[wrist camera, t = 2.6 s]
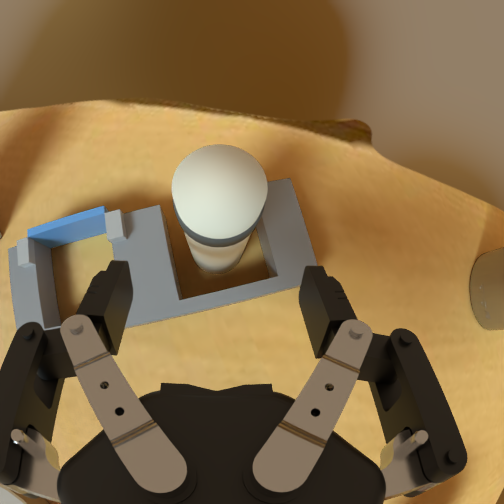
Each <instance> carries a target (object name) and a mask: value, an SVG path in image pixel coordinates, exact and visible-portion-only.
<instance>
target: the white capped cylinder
mask: <svg viewBox="0 0 504 504" xmlns="http://www.w3.org/2000/svg"><path fill="white" fill-rule="evenodd" d="M267 190H268V185H267V179H266V175H265V173H264V170H263V168H262V167H261V165H260V164H259V162H258V161H257V160H256V159H255V158H254V157H253V156H252V155H250V154H249V153H247V152H246V151H244V150H242V149H240V148H237V147H234V146H230V145H209V146H205V147H202V148H200V149H197V150H196V151H194V152H192V153H191V154H189V155H188V156H187V157H186V158H184V160H183V161H182V162H181V163H180V164H179V166H178V167H177V169H176V171H175V173H174V176H173V180H172V196H173V206H174V210H175V213H176V216H177V219H178V221H179V224H180V226H181V227H182V229H183V230H184V233H185V236H186V239H187V242H188V245H189V248H190V250H191V253H192V256H193V259H194V261H195V263H196V264H197V265H198V266H199V267H200V268H201V269H202V270H204V271H206V272H208V273H212V274H222V273H226V272H228V271H230V270H231V269H233V268H234V267H235V266H236V265H237V263H238V262H239V260H240V258H241V256H242V253H243V251H244V249H245V247H246V244H247V242H248V240H249V237H250V235H251V233H252V232H253V231H254V229H255V228H256V226H257V224H258V222H259V220H260V218H261V216H262V213H263V210H264V206H265V200H266V197H267Z"/></svg>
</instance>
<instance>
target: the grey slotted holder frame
mask: <svg viewBox="0 0 504 504" xmlns="http://www.w3.org/2000/svg"><path fill="white" fill-rule="evenodd" d="M267 185H268V190H267V197H266V200H265V206H264V210H263V213H262V216H261V218H260V220H259V222H258V224H257V226H256V229H257V233H258V237H259V240H260V244H261V247H262V251H263V255H264V258H265V262H266V266H267V269H268V273H269V277H270V278H269V279H265V280H261V281H257V282H253V283H249V284H245V285H241V286H237V287H233V288H229V289H225V290H221V291H217V292H213V293H208V294H204V295H200V296H196V297H192V298H187V299H183V298H182V293H181V289H180V285H179V280H178V276H177V271H176V267H175V262H174V258H173V253H172V248H171V243H170V238H169V233H168V228H167V222H166V217H165V215H164V213H163V211H162V209H161V207H160V205H156V206H152V207H148V208H144V209H140V210H136V211H132V212H128V213H125V214H123V212H122V211H121V210H120V209H118V210H115V211H111V212H109V211H108V210H107V209H106V208H105V206H101V207H97V208H94V209H90V210H87V211H83V212H80V213H77V214H74V215H70V216H67V217H64V218H61V219H58V220H55V221H52V222H48V223H45V224H42V225H40V226H37V227H34V228H31V229H28V230H27V231H28V237H26V238H23V239H20V240H17V246H15V247H12V248H9V249H8V254H9V271H10V283H11V293H12V301H13V309H14V315H15V322H16V328H17V330H18V329H19V328H20V327H21V326H22V325H23V324H25V323H28V322H37V323H39V324H40V325H41V326H42V328H43V330H50V329H56V328H61V320H60V315H59V309H58V303H57V297H56V290H55V283H54V275H53V266H52V256H51V248H54V247H58V246H61V245H65V244H68V243H72V242H75V241H79V240H82V239H86V238H89V237H93V236H96V235H100V234H104V233H107V239H108V241H110V242H111V243H112V247H113V253H114V260H120V261H128V263H129V268H130V274H131V279H132V285H133V301H132V304H131V308H130V311H129V314H128V318H127V321H126V325H125V328H130V327H135V326H140V325H145V324H149V323H154V322H158V321H163V320H167V319H172V318H176V317H181V316H185V315H189V314H194V313H198V312H202V311H206V310H211V309H215V308H219V307H223V306H227V305H231V304H235V303H239V302H243V301H247V300H251V299H255V298H258V297H262V296H266V295H270V294H274V293H277V292H281V291H285V290H288V289H292V288H296V287H299V286H301V282H302V278H303V273H304V269H305V267H306V266H318V265H317V262H316V258H315V255H314V252H313V248H312V245H311V242H310V238H309V235H308V232H307V228H306V225H305V222H304V219H303V216H302V212H301V209H300V206H299V203H298V200H297V197H296V194H295V191H294V188H293V185H292V182H291V179H290V178H288V179H282V180H276V181H270V182H267ZM125 328H124V329H125Z"/></svg>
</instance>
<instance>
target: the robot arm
mask: <svg viewBox="0 0 504 504" xmlns="http://www.w3.org/2000/svg"><path fill="white" fill-rule="evenodd" d="M470 297H471V304H472V308H473V312H474V314H475V317H476V319H477V320H478V322H479V324H480V325H481V326H482V327H483V328H485V329H487V330H504V247H503V248H500V249H497V250H494V251H491V252H487V253H485V254H482V255H481V256H480V257H479V258H478V259H477V261H476V262H475V264H474V267H473V270H472V274H471V281H470ZM132 301H133V285H132V279H131V274H130V268H129V263H128V261H120V260H112V261H111V262H110V264H109V266H108V268H107V270H106V271H100V272H99V273H98V274H97V275H96V276H95V277H93V279H92V281H91V283H90V287H88V290H87V293H86V294H85V296H84V298H83V300H82V302H81V304H80V307H79V309H78V311H77V313H76V315H73V316H71V317H69V318H67V319H66V320H65V321H64V322H63V323H62V325H61V328H56V329H50V330H43V328H42V326H41V325H40V324H39V323H37V322H28V323H25V324H23V325H22V326H21V327H20V328H19V329H18V330H17V332H16V334H15V336H14V338H13V341H12V343H11V345H10V347H9V350H8V352H7V355H6V357H5V359H4V362H3V364H2V367H1V370H0V484H2V485H3V486H5V487H7V488H9V489H11V490H13V491H15V492H16V493H19V494H22V495H24V496H26V497H28V498H31V499H37V498H39V497H42V498H46V499H49V500H52V501H56V502H59V503H61V504H383V502H384V500H387V499H391V498H394V497H398V496H401V495H404V496H406V497H415V496H417V495H419V494H421V493H423V492H425V491H427V490H429V489H431V488H433V487H435V486H437V485H439V484H440V483H442V482H444V481H446V480H448V479H449V478H451V477H453V476H455V475H456V474H458V473H459V472H461V471H462V470H463V469H464V467H465V465H466V463H467V452H466V449H465V446H464V443H463V441H462V438H461V435H460V433H459V430H458V427H457V425H456V422H455V420H454V417H453V415H452V412H451V410H450V407H449V405H448V402H447V400H446V398H445V395H444V393H443V391H442V388H441V386H440V384H439V382H438V379H437V377H436V375H435V373H434V371H433V369H432V366H431V364H430V362H429V360H428V358H427V356H426V354H425V352H424V350H423V348H422V346H421V344H420V342H419V340H418V338H417V336H416V335H415V334H414V333H412V332H411V331H409V330H407V329H402V328H399V329H395V330H394V331H393V332H392V333H391V335H390V336H385V335H380V334H375V333H372V330H371V329H370V327H369V326H368V325H367V324H365V323H364V322H362V321H359V320H358V319H357V317H356V315H355V313H354V311H353V309H352V307H351V305H350V303H349V300H348V299H347V296H346V294H345V293H344V290H343V288H342V286H341V284H340V283H339V282H338V281H337V280H336V279H335V278H334V277H328V276H327V274H326V272H325V270H324V267H323V266H306V267H305V269H304V273H303V278H302V282H301V286H300V291H299V304H300V308H301V311H302V314H303V318H304V321H305V324H306V328H307V331H308V334H309V338H310V341H311V345H312V348H313V351H314V355H315V358H316V359H317V358H321V360H320V361H319V363H318V365H317V366H316V368H315V370H314V371H313V373H312V375H311V376H310V378H309V380H308V381H307V383H306V385H305V386H304V388H303V389H302V391H301V393H300V394H299V396H298V397H297V399H296V400H295V399H293V398H291V397H289V396H287V395H284V394H281V393H278V392H273V390H272V384H256V385H242V386H237V387H233V388H229V389H224V390H220V391H214V390H209V389H205V388H201V387H197V386H193V385H189V384H172V383H161V389H160V391H155V392H151V393H149V394H146V395H144V396H142V397H140V398H137V396H136V395H135V393H134V392H133V390H132V388H131V387H130V385H129V384H128V382H127V381H126V379H125V377H124V376H123V374H122V373H121V371H120V369H119V368H118V366H117V364H116V362H115V361H114V359H113V357H112V356H111V355H117V354H118V350H119V346H120V343H121V339H122V335H123V332H124V328H125V325H126V321H127V318H128V314H129V311H130V308H131V304H132ZM75 376H77V377H78V380H79V382H80V384H81V386H82V388H83V390H84V392H85V394H86V397H87V399H88V401H89V403H90V405H91V407H92V408H93V410H94V412H95V414H96V416H97V418H98V420H99V422H100V424H101V425H102V427H103V430H102V431H101V432H100V433H99V434H98V435H97V436H95V437H94V438H93V439H92V440H91V441H90V442H89V443H88V444H86V445H85V446H84V447H83V448H82V449H81V450H80V451H78V452H77V453H76V454H75V455H74V456H73V457H72V458H70V459H69V460H68V461H67V462H66V463H65V464H64V465H63V467H62V468H61V469H60V466H59V457H58V452H57V450H56V448H55V447H54V446H53V445H52V444H51V441H52V435H53V429H54V424H55V419H56V414H57V409H58V405H59V400H60V396H61V392H62V388H63V384H64V380H65V378H68V377H75ZM356 380H362V381H368V382H369V385H370V389H371V392H372V395H373V398H374V402H375V405H376V408H377V412H378V415H379V419H380V422H381V426H382V429H383V433H384V436H385V440H386V445H385V446H384V448H383V449H382V451H381V455H380V459H381V465H380V468H379V467H378V466H377V465H376V464H375V463H374V462H373V461H372V460H370V459H369V458H368V457H366V456H365V455H364V454H362V453H361V452H360V451H359V450H357V449H356V448H355V447H353V446H352V445H351V444H350V443H348V442H347V441H346V440H344V439H343V438H342V437H341V436H339V435H338V434H337V433H336V432H334V431H333V429H334V427H335V425H336V423H337V421H338V419H339V417H340V415H341V413H342V411H343V409H344V406H345V404H346V402H347V400H348V398H349V396H350V394H351V391H352V389H353V387H354V385H355V382H356Z"/></svg>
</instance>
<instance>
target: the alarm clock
mask: <svg viewBox="0 0 504 504" xmlns="http://www.w3.org/2000/svg"><path fill="white" fill-rule="evenodd" d="M0 504H50V503H49V502H48V501H47V499H46V498H42V497H39V498H37V499H31V498H28V497H26V496H24V495H22V494H19V493H16V492H15V491H13V490H11V489H9V488H7V487H5V486H3V485H2V484H0Z"/></svg>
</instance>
